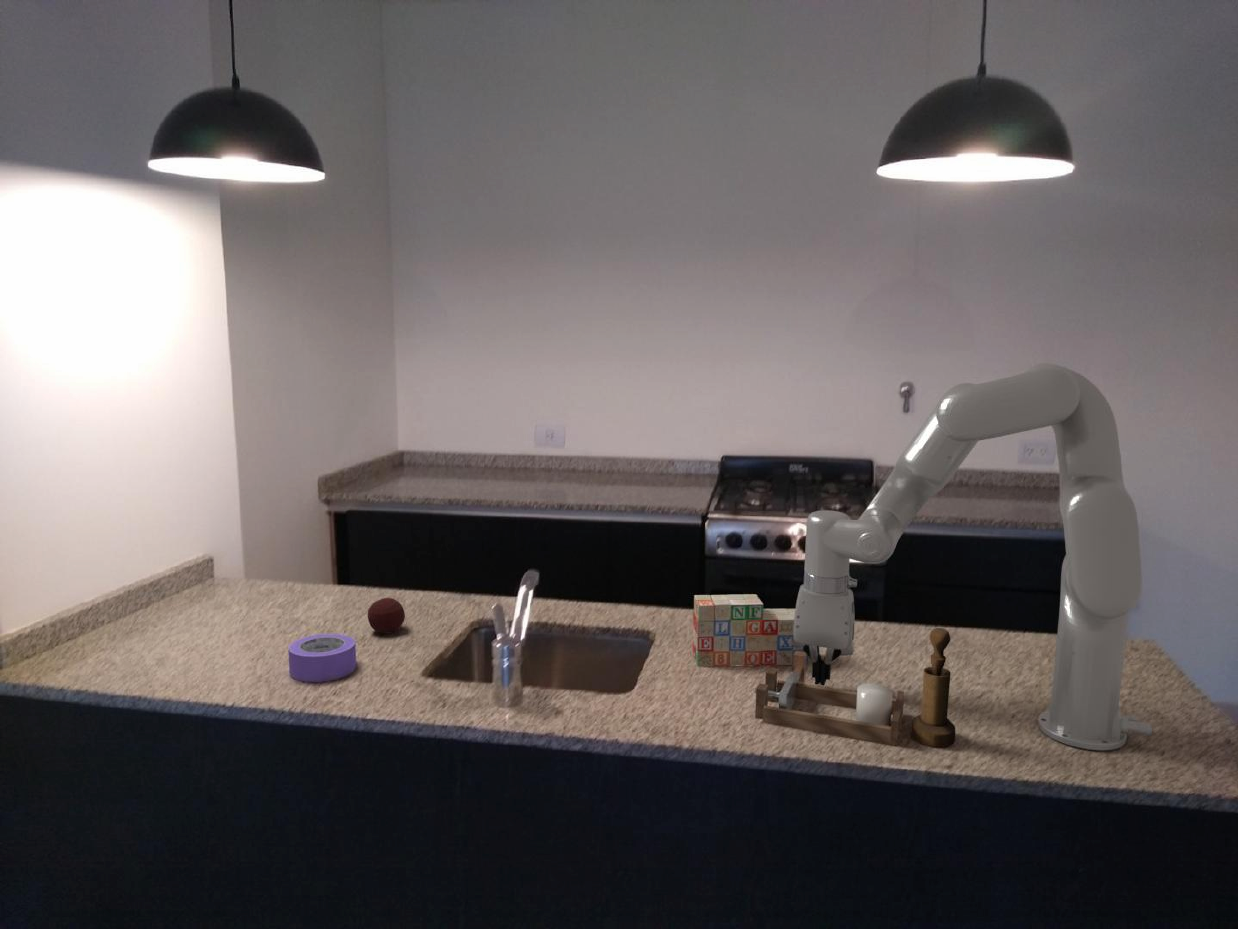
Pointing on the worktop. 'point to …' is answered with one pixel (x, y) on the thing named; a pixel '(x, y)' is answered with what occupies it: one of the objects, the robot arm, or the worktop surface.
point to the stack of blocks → (741, 632)
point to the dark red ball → (386, 615)
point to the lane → (821, 721)
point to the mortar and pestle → (935, 698)
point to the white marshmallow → (874, 704)
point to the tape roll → (322, 657)
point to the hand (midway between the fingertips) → (820, 682)
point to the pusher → (792, 681)
